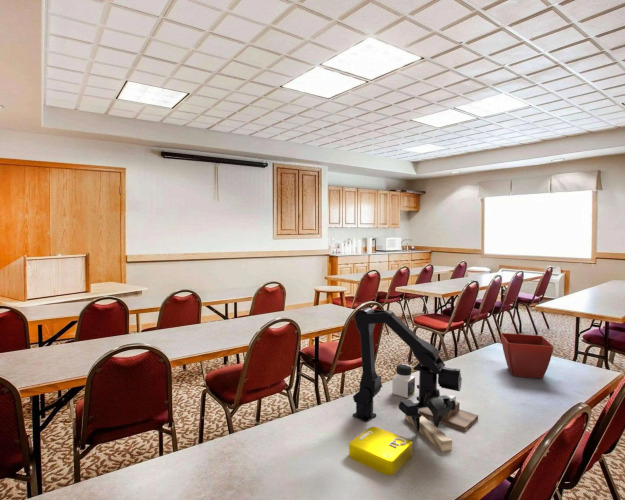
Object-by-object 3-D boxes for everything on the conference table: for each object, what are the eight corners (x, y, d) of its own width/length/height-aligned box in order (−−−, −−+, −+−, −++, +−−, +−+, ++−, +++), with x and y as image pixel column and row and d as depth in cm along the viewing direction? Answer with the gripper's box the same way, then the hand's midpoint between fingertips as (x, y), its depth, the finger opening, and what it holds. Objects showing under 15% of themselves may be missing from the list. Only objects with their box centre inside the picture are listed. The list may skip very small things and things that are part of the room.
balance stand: (465, 431, 130) (465, 412, 130) (416, 414, 142) (417, 396, 142) (478, 419, 139) (478, 401, 138) (431, 403, 151) (431, 387, 151)
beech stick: (451, 451, 119) (452, 440, 119) (441, 452, 118) (442, 441, 118) (413, 418, 140) (413, 408, 140) (405, 419, 139) (405, 409, 139)
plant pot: (506, 377, 180) (507, 342, 179) (499, 364, 198) (500, 332, 197) (552, 382, 174) (554, 346, 173) (540, 368, 192) (542, 335, 192)
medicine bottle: (408, 398, 156) (408, 369, 155) (391, 394, 160) (392, 365, 159) (414, 392, 161) (415, 364, 161) (399, 388, 166) (399, 361, 165)
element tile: (372, 437, 126) (372, 423, 126) (414, 455, 117) (415, 439, 116) (346, 457, 115) (346, 442, 114) (390, 478, 105) (391, 461, 105)
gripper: (416, 397, 118) (415, 446, 118) (467, 391, 123) (466, 438, 124) (398, 383, 128) (397, 429, 129) (446, 378, 134) (444, 421, 134)
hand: (426, 429), depth 129 cm, fingers open, 7 cm apart
